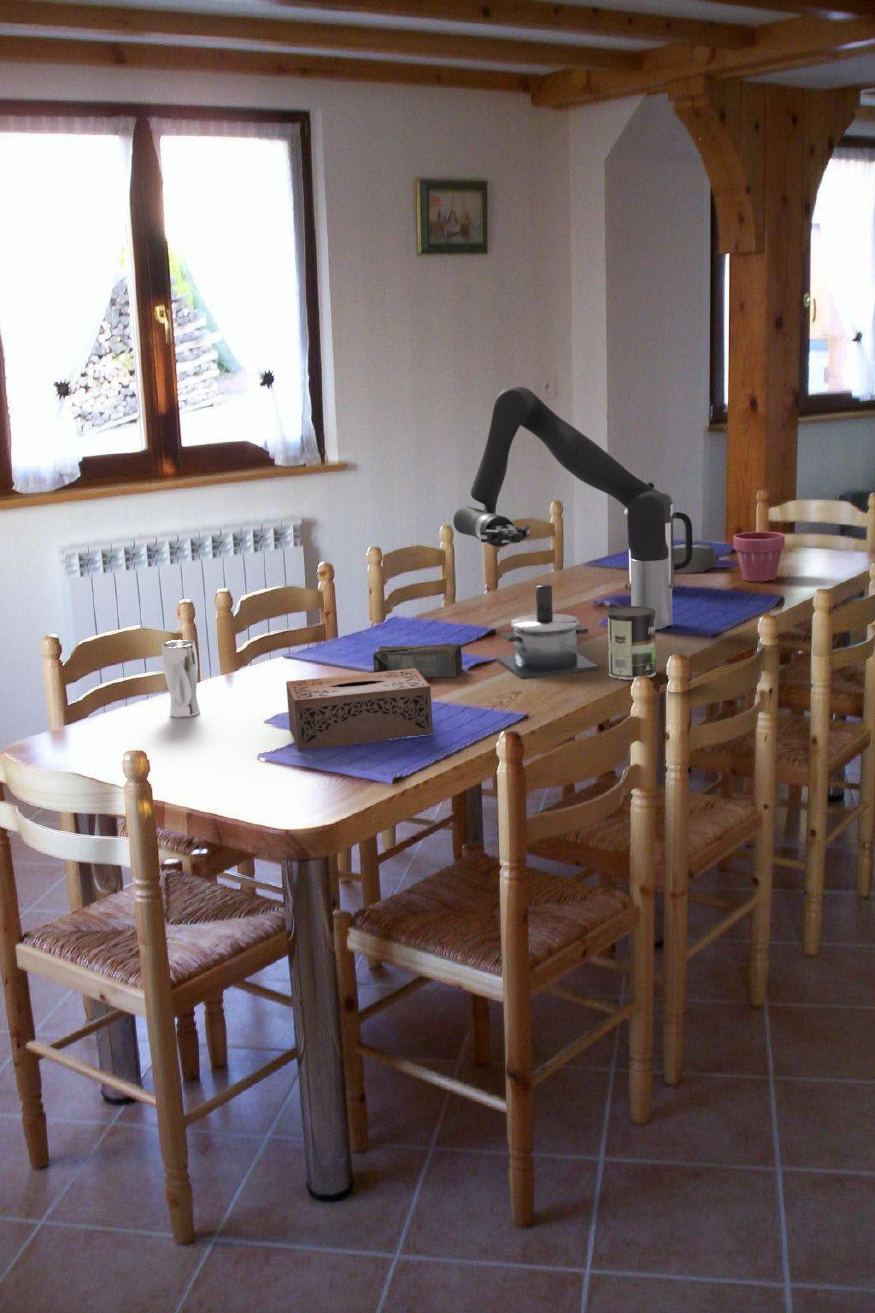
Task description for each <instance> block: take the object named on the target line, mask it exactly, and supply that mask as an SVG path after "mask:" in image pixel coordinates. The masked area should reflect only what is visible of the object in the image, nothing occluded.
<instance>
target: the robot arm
mask: <svg viewBox="0 0 875 1313" xmlns="http://www.w3.org/2000/svg"><path fill="white" fill-rule="evenodd" d="M520 426H521V427H522V428H525V429H526V430H527V431H529V432H530V433H532V434H533V435H534V436H536V437H537V438H538V439H539V440H540V441H542V443H544V446H546V448H547V450H549V452H550V453H551V455H552V456H553V457H554V458H555V460H556V461H557V462H558V463H559V464H560V465H561V466H562V467H563V468H564V469H566V471H568V472H569V473H570V474H572V475H573V476H574V477H576V478H577V479H578V480H580V481H581V482H583V483H584V484H587V485H588V486H590V487H592V488H594V489H597V490H599V491H601V492H603V493H605V494H607V495H609V496H611V497H613V498H614V499H615V500H617V502H619V503H620V504H621V505H623V507H625V509H626V508H627V509H628V513H627V514H626V515H627V516H626V517H627V518H626V519H627V520H626V521H627V544H628V550H629V549H630V555H631V583H630V587H631V588H630V604H631V605H630V606H642V607H649V608H652V609H654V610H655V631H656V630H663V628H664V629H666V628H665V627H667V626H668V625H672V626H673V591H672V589H671V588H669V586H670V585H669V559H668V557H669V549H668V546H667V544H666V533H665V522H666V521H667V520H668V519H669V517H670V513H671V507H670V503H669V501H668V499H667V498H666V497H665V496H664V495H663V494H662V493H660V492H659V491H660V490H657V489H656V488H655V487H654V488H652V487H651V486H649V485H647V483H646V482H644V481H643V480H641V479H640V478H638V477H636V476H635V475H633V473H631V472H629V470H627V469H626V468H625V467H624V466H623V465H622V464H621V463H619V462H618V461H617V460H616V459H615V458H613V456H612V455H610V454H609V453H607V452H606V451H605V450H604V449H603V448H602V447H601V446H599V445H598V444H597V443H595V442H594V441H593V440H591V439H590V438H589V437H587V436H586V435H585V434H584V433H582V432H580V431H579V430H578V429H576V427H574V426H573V425H571V424H569V423H568V422H566V421H565V420H563V419H562V418H561V417H559V416H558V415H557V414H556V413H555V412H554V411H553V410H552V409H550V408H549V406H547V405H546V404H545V403H544V402H543V401H542V400H541V398H539V397H538V396H537V395H536V394H535V393H534V392H533V391H531V390H530V389H529V388H527V387H524V386H513V387H509V388H507V389H504V390H502V391H500V393H498V394H497V396H496V398H495V401H494V403H493V409H492V414H491V421H490V426H489V431H488V436H487V439H486V440H487V441H486V445H485V448H484V451H483V454H482V459H481V460H480V463H479V465H478V466H479V467H478V469H477V472H476V475H475V478H474V481H473V484H472V487H471V490H470V496H471V498H472V499H473V500H475V502H478V503H481V504H482V505H484V508H483V509H479V508H476V507H472V506H464V505H463V506H461V507H460V508H458V509H457V511H456V512H455V514H454V516H453V522H452V523H453V526H454V529H455V531H457V532H458V533H459V534H462V535H467V536H470V537H474V538H476V539H478V540H480V543H485V544H487V545H489V546H492V547H495V548H502V547H505V546H507V545H509V544H510V543H513V544H517V543H521V541H523V540H525V539H527V538H530V536H531V531H530V525H524V526H521V528H520V527H519V526H515V525H514V524H513V522H512V521H511V520H510V519H509V518H508V517H505V516H504V515H500V514H498V513H496V511H497V504H498V499H499V497H500V496H499V495H500V492H501V490H502V487H503V485H504V481H505V478H506V474H507V468H508V463H509V454H510V450H511V446H512V443H513V441H514V438H515V436H516V433H517V432H518V430H519V428H520ZM667 628H668V627H667Z"/></svg>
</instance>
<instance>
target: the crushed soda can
mask: <svg viewBox="0 0 875 1313" xmlns="http://www.w3.org/2000/svg"><path fill="white" fill-rule="evenodd" d="M161 646H162V666H163V667H162V668H163V673H164V678H165V681H166V685H167V689H168V691H169V695H170V710H169V713H170V716H171V717H172V718H177V719H184V718H185V719H187V718H191V717H196V716H198V715H199V714H200V713H201V710H200V706H199V703H198V702H199V701H198V698H197V687H198V686H197V685H198V674H199V673H198V672H199V666H198V663H199V662H198V655H197V650H196V649H197V648H196V644H195V641H194V640H192V639H178V640H177V639H176V640H170V641H167V642H164V643H162V645H161Z"/></svg>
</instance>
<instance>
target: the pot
mask: <svg viewBox="0 0 875 1313" xmlns="http://www.w3.org/2000/svg"><path fill="white" fill-rule="evenodd" d="M583 634H584V635H585V634H589V628H588V627H586V626H584V625H583V624H579V625H578V626H577V627H576V628H574V629H571V630H567V631H561V632H553V633H529V632H521V631H517V630H514V629H513V631H510V632H502V633H501V638H502V639H504V640H505V641H507V642H508V643H513V645H514V647H513V648H514V650H513V651H514V654H509V655H508V654H507V655H500V656H495V661H496V662H498V663H499V664H500V665H502V666H503V667H505V669H507V670H508V671H510V673H511V672H512V673H513V674H514V675H515V676H517V677H518V678H520V679H529V678H530V679H531V678H536V677H537V678H538V677H546V676H547V675H548V676H553V674H556V675H562V674H561V673H564V674H569V673H568V672H572V673H580V672H588V671H597V670H599V665H598V664H597V663H594V662H593V661H592V660H590V659H588V658H586V657H584V656H583V655H581V654H580V653H578V641H577V640H578V639H577V638H578V636H577V635H583Z"/></svg>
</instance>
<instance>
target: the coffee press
mask: <svg viewBox="0 0 875 1313" xmlns="http://www.w3.org/2000/svg"><path fill="white" fill-rule="evenodd" d="M646 484H647V485H649V486H651V487H652V488H654V489H655V484H654V483H653V482H649V481H648V482H647V483H646ZM658 491H659V492H660V493H662V494H663V495H664V496H665V497H666V498H667V499H668V501H669V503H670V507H671V513H670V517H669V519H668V520H667V521H666V522H665V533H666V544H667V546H668V549H669V557H668V559H669V588H671V589H674V588H673V587H672V586H671V585H673V586H674V587H675V590H676V589H677V588H678V585H677V584H676V582H675V579H674V575H675V574H673V573H674V570H679V569H682V568H685V567H686V566H687V565H688V564H689V563H690V561H691V558H692V545H693V524H692V520H691V519H690V517H689V516H688V515H687V514H685V512H684V513H683V512H679V511H675V512H674V511H673V510H674V509H673V508H674V507H673V506H674V503H675V501H674V499H673V498H672V495H671V494H669V493H668V492H666V491H663V490H662V491H661V490H658ZM623 512H624V515H627V513H628V509H627V508H626V507H625V509H624V511H623ZM674 519H677V520H678V519H679V520H681V521H683V524H684V528H685V530H684V531H685V534H684V536H685V538H684V539H685V540H684V541H685V543H684V544H685V558H684V560H683V561H682V562H680V563H677V564H673V546H674ZM628 575H629V576H628V581H627V582H626V583H625V586H624V587H625V589H627V590H631V586H630V587H629V586H628V584H629V583H630V584H631V555H630V549H629V548H628ZM678 589H679V588H678ZM678 589H677V590H678Z"/></svg>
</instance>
